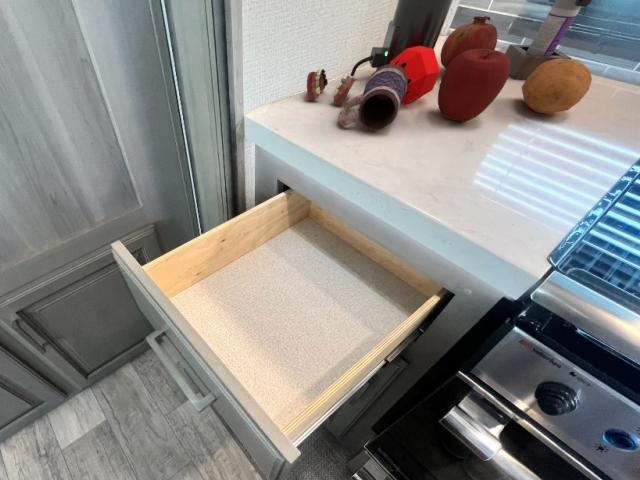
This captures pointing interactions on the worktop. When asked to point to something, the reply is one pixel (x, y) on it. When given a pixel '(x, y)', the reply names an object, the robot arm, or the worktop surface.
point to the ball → (418, 71)
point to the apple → (472, 83)
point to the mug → (377, 99)
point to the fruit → (469, 39)
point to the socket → (527, 60)
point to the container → (554, 27)
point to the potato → (556, 85)
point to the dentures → (319, 81)
